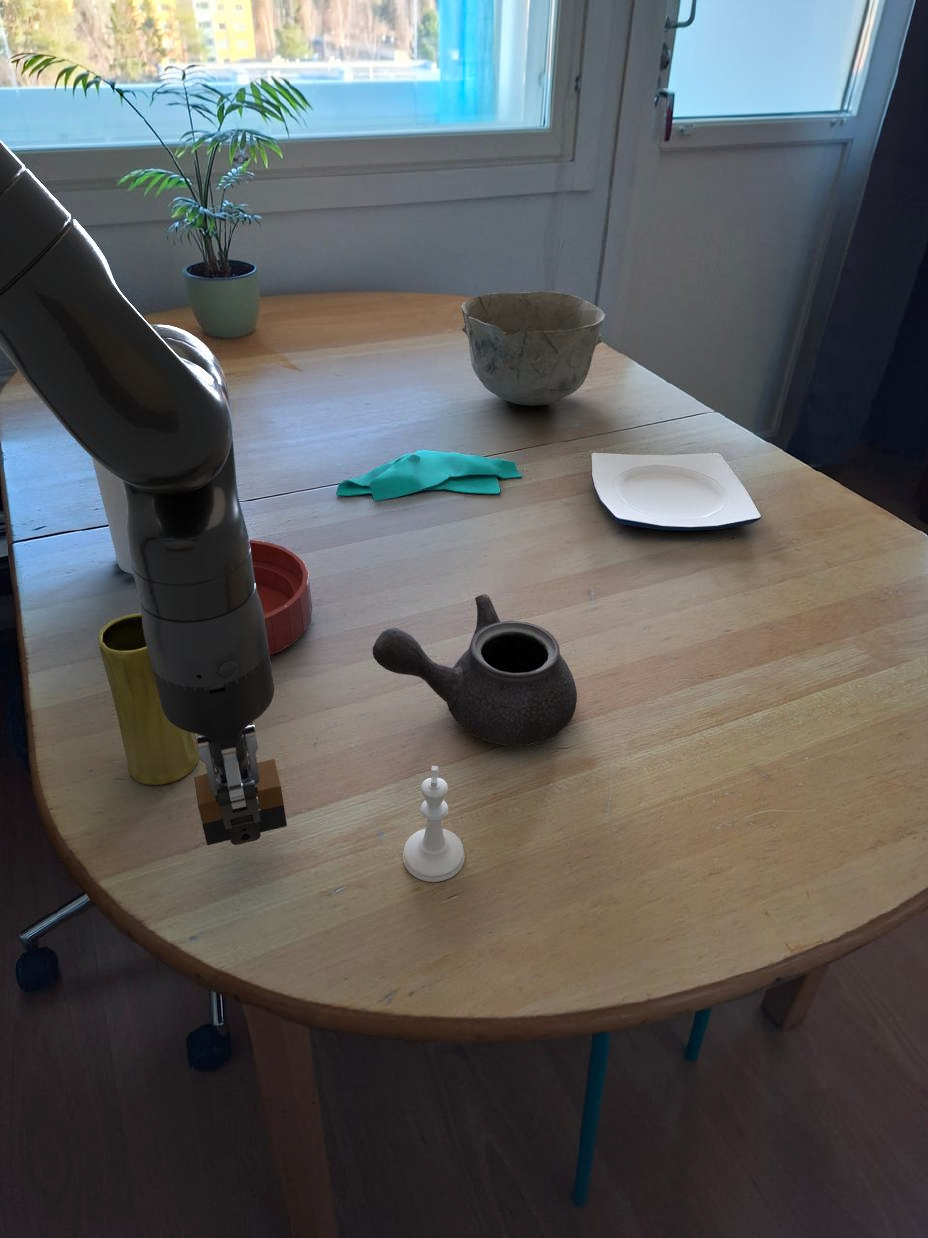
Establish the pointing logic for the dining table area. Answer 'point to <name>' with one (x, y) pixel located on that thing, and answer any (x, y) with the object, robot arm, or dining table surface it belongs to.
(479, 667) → the teapot
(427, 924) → the dining table surface
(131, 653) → the vase
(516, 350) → the bowl
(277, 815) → the eraser
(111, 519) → the vase
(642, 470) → the plate
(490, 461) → the cloth
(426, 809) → the chess piece
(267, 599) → the red bowl
